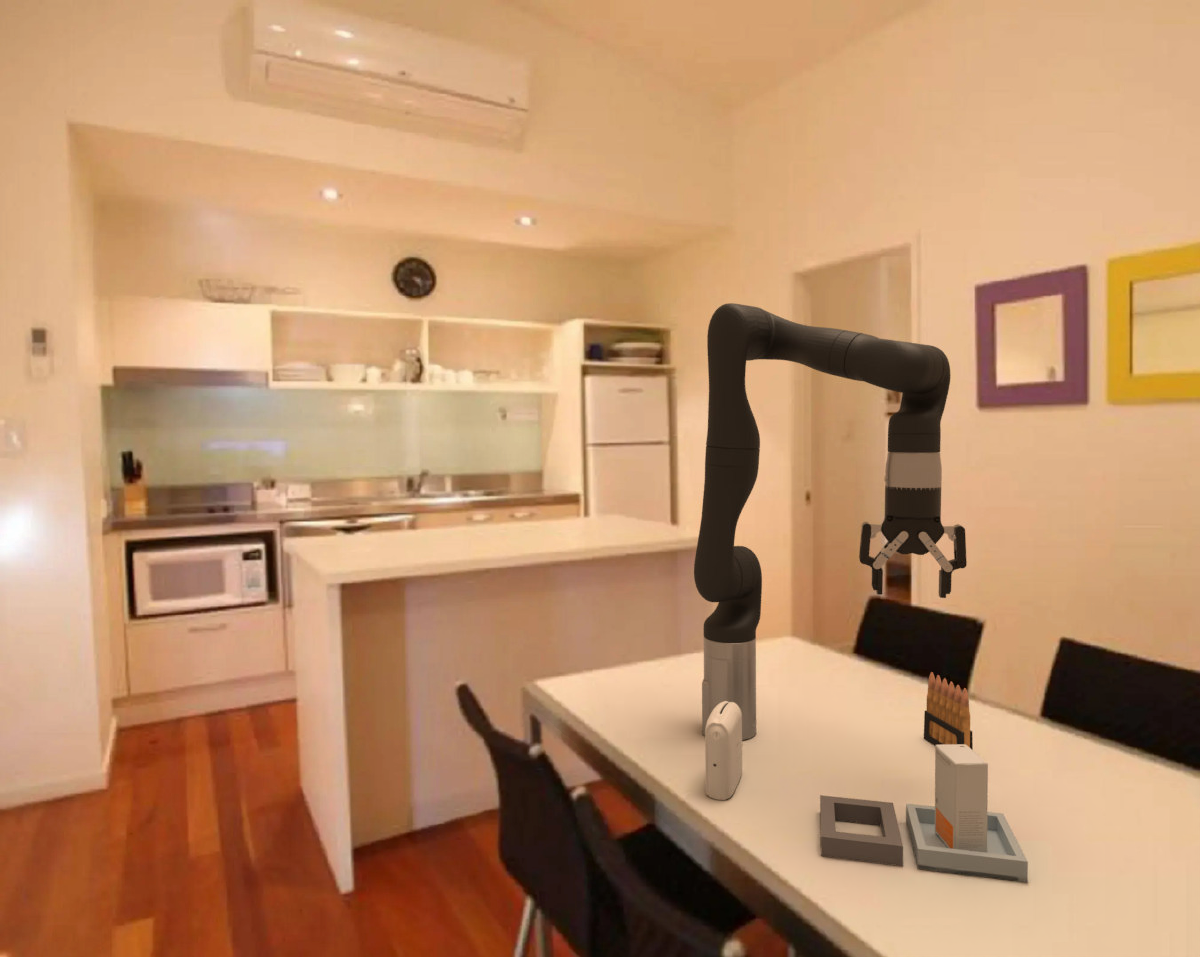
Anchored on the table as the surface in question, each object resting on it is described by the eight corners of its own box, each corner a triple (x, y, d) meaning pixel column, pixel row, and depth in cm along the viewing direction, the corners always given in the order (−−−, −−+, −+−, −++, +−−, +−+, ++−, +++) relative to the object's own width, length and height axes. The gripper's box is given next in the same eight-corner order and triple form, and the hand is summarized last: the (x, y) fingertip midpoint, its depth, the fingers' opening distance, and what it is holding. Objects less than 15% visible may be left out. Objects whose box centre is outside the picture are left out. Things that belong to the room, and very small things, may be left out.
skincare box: (933, 833, 101) (933, 743, 100) (965, 832, 101) (966, 743, 100) (954, 858, 95) (954, 763, 94) (988, 858, 95) (989, 762, 94)
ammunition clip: (973, 763, 124) (974, 689, 123) (962, 764, 123) (963, 690, 123) (932, 737, 134) (933, 670, 134) (923, 738, 134) (923, 670, 133)
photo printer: (731, 802, 111) (730, 718, 111) (702, 798, 113) (701, 715, 112) (745, 773, 121) (744, 696, 120) (718, 769, 122) (717, 693, 122)
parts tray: (917, 868, 94) (918, 848, 94) (906, 821, 105) (906, 803, 105) (1027, 882, 91) (1027, 861, 90) (1002, 831, 102) (1003, 813, 102)
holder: (821, 855, 97) (821, 836, 97) (820, 812, 108) (820, 795, 108) (902, 866, 94) (902, 846, 94) (892, 820, 105) (893, 802, 105)
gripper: (862, 485, 109) (860, 598, 110) (972, 486, 105) (969, 603, 106) (859, 481, 116) (857, 587, 117) (962, 482, 112) (959, 592, 113)
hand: (910, 595), depth 112 cm, fingers open, 8 cm apart
